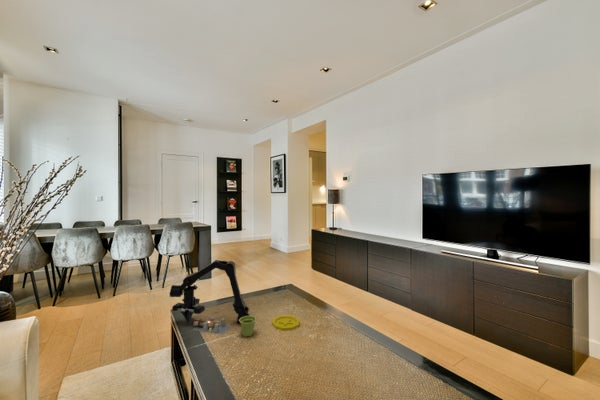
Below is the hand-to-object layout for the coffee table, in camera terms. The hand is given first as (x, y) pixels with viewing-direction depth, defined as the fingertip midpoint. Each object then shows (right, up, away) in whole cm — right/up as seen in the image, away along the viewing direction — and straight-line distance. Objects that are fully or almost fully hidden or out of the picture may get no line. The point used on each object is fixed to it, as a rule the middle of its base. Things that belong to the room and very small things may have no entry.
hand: (188, 322), depth 161 cm
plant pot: (+37, -4, -7) cm, 38 cm away
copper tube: (+11, -2, -2) cm, 11 cm away
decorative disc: (+59, -5, +6) cm, 59 cm away
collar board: (+15, -3, -4) cm, 16 cm away
